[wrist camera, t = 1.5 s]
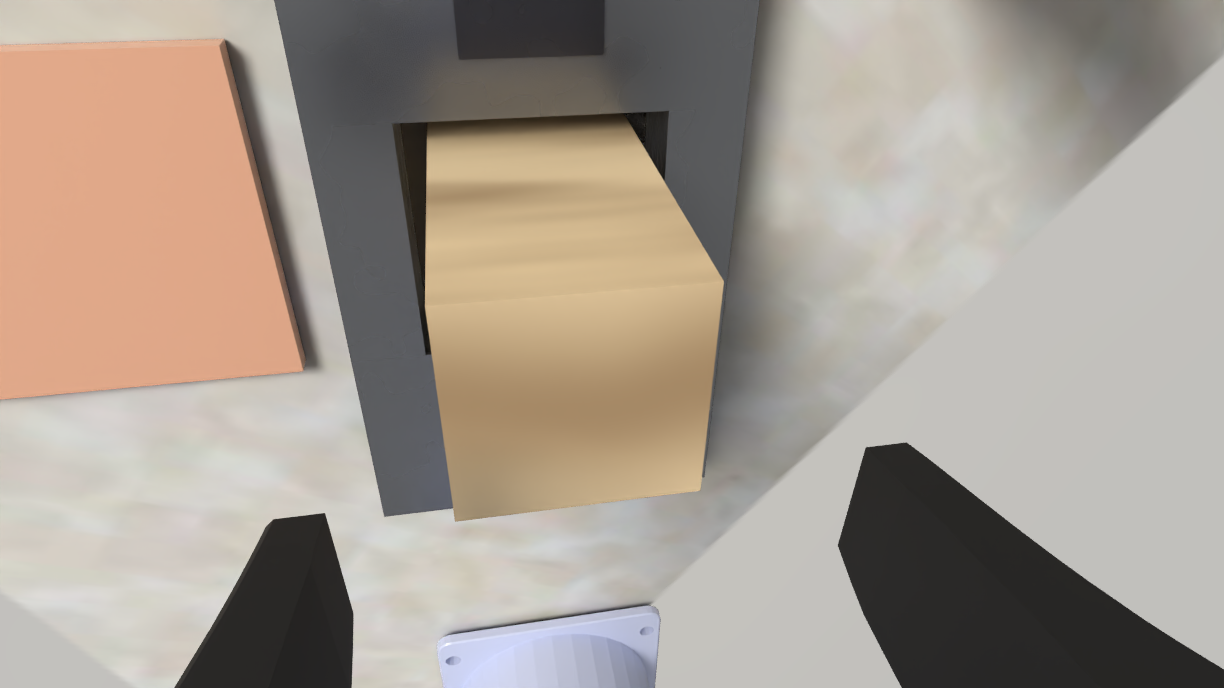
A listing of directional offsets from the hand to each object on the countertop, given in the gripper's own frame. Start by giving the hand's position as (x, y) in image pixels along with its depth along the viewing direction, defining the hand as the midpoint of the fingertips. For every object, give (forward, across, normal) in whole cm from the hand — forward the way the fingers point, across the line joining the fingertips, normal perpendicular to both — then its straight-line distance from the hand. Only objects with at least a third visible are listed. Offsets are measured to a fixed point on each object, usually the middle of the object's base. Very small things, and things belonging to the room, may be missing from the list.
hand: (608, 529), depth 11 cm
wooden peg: (+11, 0, 0) cm, 11 cm away
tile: (+10, +10, 0) cm, 15 cm away
